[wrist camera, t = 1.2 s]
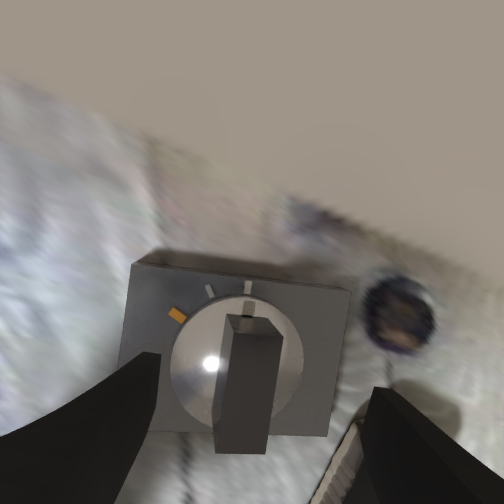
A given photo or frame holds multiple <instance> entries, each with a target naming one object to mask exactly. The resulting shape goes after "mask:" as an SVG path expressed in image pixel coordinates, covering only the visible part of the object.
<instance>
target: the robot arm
mask: <svg viewBox="0 0 504 504" xmlns="http://www.w3.org/2000/svg"><path fill="white" fill-rule="evenodd" d="M161 356H162V354H157V353H151V352H144V351H143V352H142V353H140V354H139V355H138V356H136V357H135V358H133V359H132V360H131V361H129V362H128V363H127V364H125V365H124V366H123V367H121V368H120V369H118V370H117V371H116V372H114V373H113V374H111V375H110V376H109V377H107V378H106V379H104V380H103V381H101V382H100V383H99V384H97V385H96V386H94V387H93V388H91V389H90V390H88V391H86V392H85V393H83V394H82V395H80V396H79V397H77V398H75V399H74V400H72V401H71V402H69V403H67V404H65V405H64V406H62V407H60V408H58V409H57V410H55V411H53V412H51V413H49V414H47V415H46V416H44V417H42V418H40V419H38V420H36V421H34V422H32V423H30V424H28V425H26V426H24V427H22V428H19V429H17V430H15V431H13V432H11V433H8V434H6V435H4V436H2V437H0V504H114V502H115V500H116V498H117V496H118V494H119V492H120V489H121V487H122V485H123V483H124V481H125V479H126V477H127V475H128V473H129V471H130V469H131V467H132V464H133V462H134V460H135V458H136V456H137V454H138V452H139V450H140V448H141V446H142V443H143V441H144V439H145V437H146V434H147V431H148V429H149V426H150V423H151V420H152V417H153V414H154V411H155V408H156V403H157V394H158V384H159V375H160V365H161ZM360 441H361V445H362V450H363V454H364V458H365V462H366V466H367V469H368V472H369V475H370V478H371V481H372V483H373V486H374V489H375V492H376V494H377V497H378V500H379V503H380V504H504V479H503V478H501V477H500V476H499V475H497V474H496V473H495V472H493V471H492V470H490V469H489V468H488V467H487V466H485V465H484V464H483V463H481V462H480V461H479V460H478V459H476V458H475V457H474V456H472V455H471V454H470V453H469V452H467V451H466V450H465V449H464V448H462V447H461V446H460V445H459V444H457V443H456V442H455V441H454V440H453V439H451V438H450V437H449V436H448V435H447V434H445V433H444V432H443V431H442V430H441V429H439V428H438V427H437V426H436V425H435V424H434V423H432V422H431V421H430V420H429V419H428V418H427V417H425V416H424V415H423V414H422V413H421V412H420V411H418V410H417V409H416V408H415V407H414V406H413V405H411V404H410V403H409V402H408V401H407V400H405V399H404V398H403V397H402V396H401V395H399V394H398V393H397V392H395V391H394V390H393V389H388V388H381V387H375V386H374V389H373V392H372V396H371V399H370V403H369V406H368V409H367V413H366V416H365V420H364V423H363V426H362V430H361V433H360Z"/></svg>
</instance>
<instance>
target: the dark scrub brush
mask: <svg viewBox="0 0 504 504" xmlns="http://www.w3.org/2000/svg"><path fill="white" fill-rule="evenodd" d="M364 420H365V418H363V419H361V420H358V421H355V422H354V423H352V425H351V427H350V430H349V431H348V432H347V434H346V436H345V438H344V440H343V442H342V444H341V446H340V447H339V448H338V450H337V452H336V453H335V454H334V456H333V458H332V462H331V464H330V466H329V468H328V470H327V471H326V473H325V476H324V478H323V480H322V482H321V485H320V487H319V488H318V489H317V491H316V494H315V495H314V497H313V498H312V501H311V503H310V504H380V503H379V500H378V497H377V494H376V492H375V489H374V486H373V483H372V481H371V478H370V475H369V472H368V469H367V466H366V462H365V458H364V454H363V450H362V445H361V441H360V433H361V430H362V426H363V423H364Z"/></svg>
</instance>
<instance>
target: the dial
mask: <svg viewBox="0 0 504 504" xmlns="http://www.w3.org/2000/svg"><path fill="white" fill-rule="evenodd" d="M303 364H304V354H303V347H302V343H301V340H300V337H299V334H298V332H297V330H296V328H295V327H294V325H293V324H292V322H291V321H290V320H289V319H288V318H287V317H286V316H285V315H284V314H283V313H282V312H281V311H280V310H279V309H278V308H276V307H275V306H273V305H272V304H270V303H268V302H266V301H264V300H262V299H259V298H256V297H251V296H241V295H237V296H228V297H223V298H220V299H217V300H214V301H212V302H210V303H208V304H206V305H204V306H203V307H201V308H200V309H198V310H197V311H196V312H195V313H194V314H193V315H191V316H190V318H189V319H188V320H187V321H186V322H185V324H184V325H183V326H182V328H181V329H180V331H179V333H178V335H177V337H176V340H175V343H174V346H173V350H172V355H171V364H170V375H171V382H172V386H173V389H174V392H175V394H176V396H177V398H178V400H179V402H180V403H181V405H182V406H183V407H184V409H185V410H186V411H187V412H188V413H189V414H190V415H192V416H193V417H194V418H195V419H197V420H198V421H200V422H202V423H204V424H206V425H209V426H211V427H213V435H214V445H215V453H223V454H265V452H266V446H267V439H268V433H269V427H270V420H271V418H272V417H273V416H274V415H276V414H277V413H278V412H279V411H280V410H282V409H283V408H284V407H285V405H286V404H287V403H288V402H289V401H290V399H291V398H292V396H293V395H294V393H295V391H296V389H297V387H298V385H299V382H300V379H301V376H302V371H303Z"/></svg>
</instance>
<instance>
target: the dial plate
mask: <svg viewBox="0 0 504 504" xmlns="http://www.w3.org/2000/svg"><path fill="white" fill-rule="evenodd" d="M237 295H241V296H251V297H256V298H259V299H262V300H264V301H266V302H268V303H270V304H272V305H273V306H275V307H276V308H278V309H279V310H280V311H281V312H282V313H283V314H284V315H285V316H286V317H287V318H288V319H289V320H290V321H291V322H292V324H293V325H294V327H295V328H296V330H297V332H298V334H299V337H300V340H301V343H302V347H303V354H304V364H303V371H302V376H301V379H300V382H299V385H298V387H297V389H296V391H295V393H294V395H293V396H292V398H291V399H290V401H289V402H288V403H287V404H286V405H285V407H284V408H283V409H282V410H280V411H279V412H278V413H277V414H276V415H274V416H273V417H272V418H271V420H270V427H269V433H268V435H289V436H319V437H327V433H328V427H329V421H330V415H331V410H332V404H333V398H334V392H335V386H336V380H337V374H338V368H339V362H340V356H341V350H342V344H343V338H344V332H345V326H346V320H347V314H348V308H349V303H350V297H351V292H350V291H347V290H345V289H342V288H338V287H330V286H322V285H314V284H307V283H299V282H291V281H283V280H275V279H268V278H260V277H252V276H244V275H237V274H229V273H221V272H213V271H206V270H198V269H190V268H182V267H175V266H167V265H159V264H151V263H144V262H134V263H133V264H131V272H130V279H129V286H128V294H127V301H126V308H125V316H124V323H123V331H122V338H121V345H120V353H119V360H118V367H117V370H118V369H120V368H121V367H123V366H124V365H125V364H127V363H128V362H129V361H131V360H132V359H133V358H135V357H136V356H138V355H139V354H140V353H142V352H143V351H144V352H151V353H157V354H162V356H161V365H160V375H159V384H158V394H157V403H156V408H155V411H154V414H153V417H152V420H151V423H150V426H149V429H148V431H168V432H199V433H213V427H211V426H209V425H206V424H204V423H202V422H200V421H198V420H197V419H195V418H194V417H193V416H192V415H190V414H189V413H188V412H187V411H186V410H185V409H184V407H183V406H182V405H181V403H180V402H179V400H178V398H177V396H176V394H175V392H174V389H173V386H172V382H171V375H170V364H171V355H172V350H173V346H174V343H175V340H176V337H177V335H178V333H179V331H180V329H181V328H182V326H183V325H184V324H185V322H186V321H187V320H188V319H189V318H190V316H191V315H193V314H194V313H195V312H196V311H197V310H198V309H200V308H201V307H203V306H204V305H206V304H208V303H210V302H212V301H214V300H217V299H220V298H223V297H228V296H237Z"/></svg>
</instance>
